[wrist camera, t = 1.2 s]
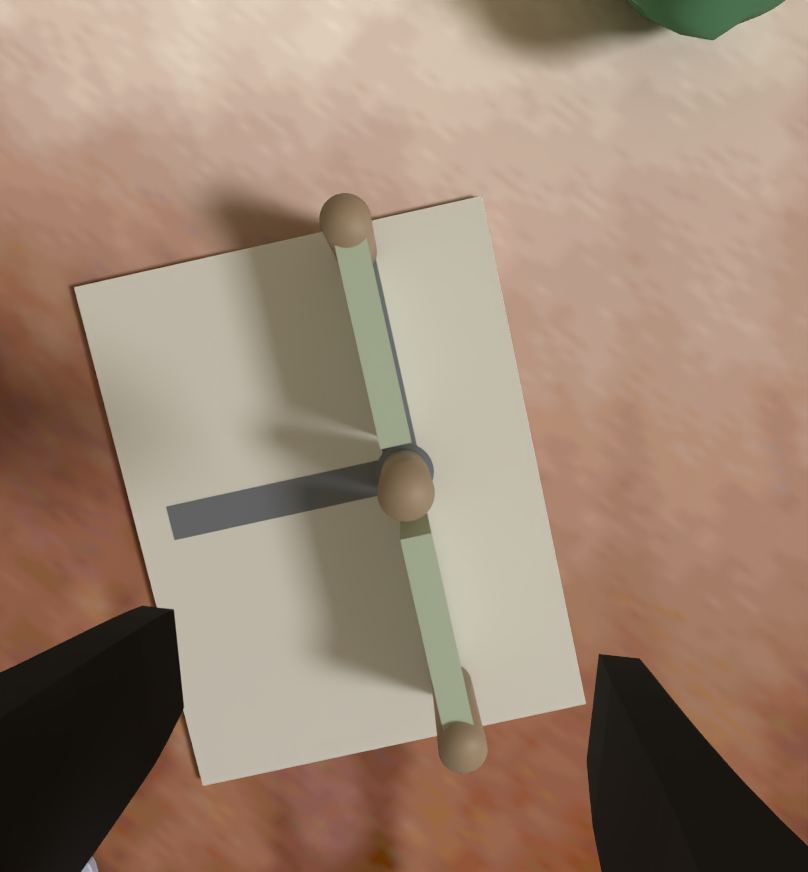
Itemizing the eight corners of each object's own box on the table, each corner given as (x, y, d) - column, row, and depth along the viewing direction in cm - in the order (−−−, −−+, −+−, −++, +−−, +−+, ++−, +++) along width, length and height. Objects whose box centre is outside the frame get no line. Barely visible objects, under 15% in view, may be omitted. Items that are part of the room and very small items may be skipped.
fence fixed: (387, 499, 21) (383, 527, 17) (327, 236, 21) (309, 198, 17) (432, 489, 21) (440, 514, 17) (374, 225, 21) (368, 185, 17)
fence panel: (436, 706, 22) (444, 777, 18) (393, 514, 21) (391, 543, 17) (475, 697, 22) (492, 767, 18) (433, 505, 21) (440, 532, 17)
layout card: (205, 780, 23) (202, 786, 22) (78, 288, 21) (73, 287, 21) (583, 699, 22) (586, 704, 22) (480, 198, 21) (482, 195, 21)
